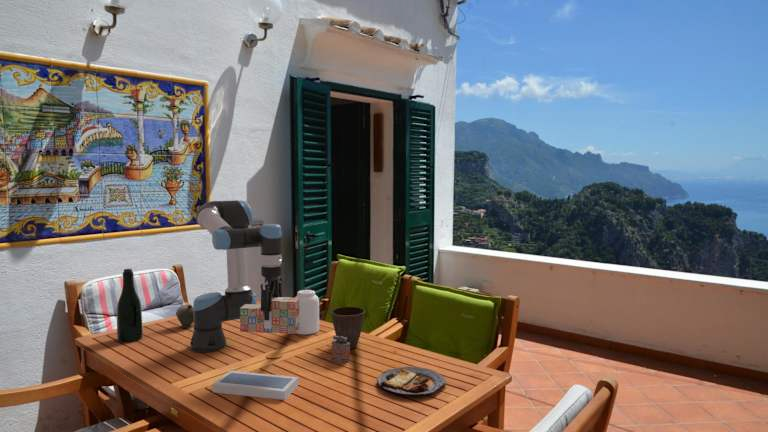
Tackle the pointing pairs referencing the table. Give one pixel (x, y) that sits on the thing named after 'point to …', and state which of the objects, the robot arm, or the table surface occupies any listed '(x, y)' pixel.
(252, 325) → the stack of blocks
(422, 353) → the table surface
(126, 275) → the beer bottle
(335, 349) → the lighter
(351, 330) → the plant pot
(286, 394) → the base board
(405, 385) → the food plate
